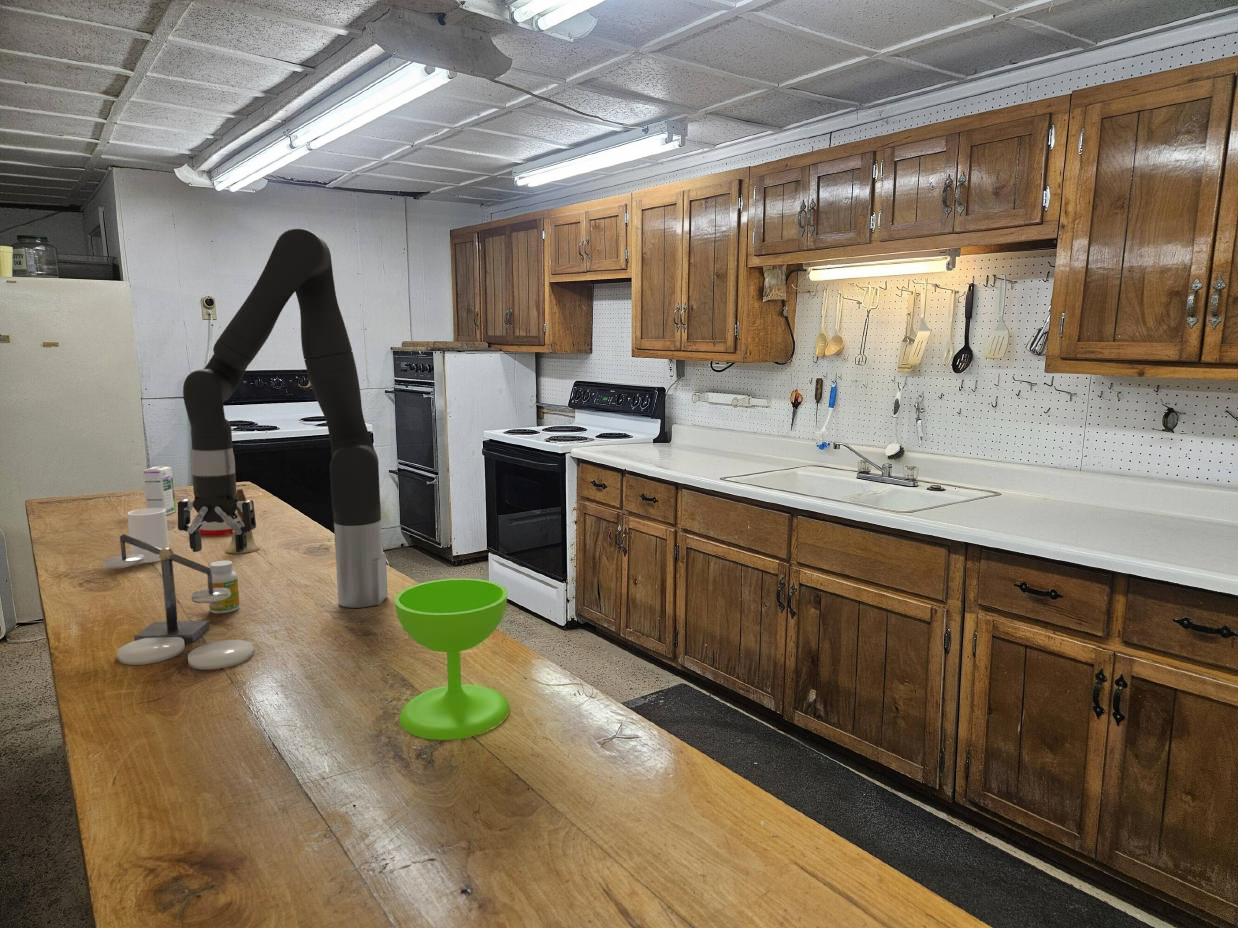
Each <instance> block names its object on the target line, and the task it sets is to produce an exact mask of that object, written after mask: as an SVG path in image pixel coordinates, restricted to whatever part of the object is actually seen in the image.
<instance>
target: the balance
mask: <svg viewBox="0 0 1238 928" xmlns="http://www.w3.org/2000/svg"><path fill="white" fill-rule="evenodd" d="M119 542H120V550H121V551H120V552H121V554H120V555H114V556H111V557H108V558H105V559H104V560H103V561H102V565H103V566H102V567H104V569H105V568H106V569H124V568H130V567H136V566H139V565H142V564H145V563H144V562H145V556H144V555H141V554H131V553H130V554H127V550H126V549H127V548H126V543H127V544H129V545H130V546H131V545H134V546H137V547H139V548H142V549H144V550H147V551H149V552H152V553H154V554H157V555H158V556H159V558H160V559H161V561H160V566H161V567H160V568H161V577H162V586H163V589H162V590H163V599H164V608H165V609H164V610H165V618H166V619H165V620H166V621H153V622H152V623H151V624H149V625H147V627H145V628H143V629H142V630H141V631H139V632H138V633H137V634H135V635H134V638H133V639H134V641H136V640H140V639H144V638H149V637H176V636H177V637H181V638H183V639H184V644H185V643H195V642H196V641H197V640H198V639H199V638H200V637H201V636H202V635H203V636H204V634H205V633H206V632H207V631H209V630H210V628H211V626H210V625H211V624H210V620H186V621H185V620H184V621H181V620H180V621H179V619H178V617H179V616H178V610H177V609H178V608H177V597H176V586H175V574H174V573H175V572H174V564H173V562H175V563H177V564H179V565H182V566H185V567H188V568H190V569H192V570H195V571H197V572H201V573H202V574H205V575H207V578H208V582H207V588H205V589H201V590H197V591H196V592H195V591H194V593H192V594H191V596H190V597H191V599H190V600H191V601H192V602H193V603H196V604H209V603H212V602H218V601H222V600H225V599H227V598H229V597H230V596H231V591H230V589H228V588H213V584H212V572H211V568H210V567H208V566H206V565H203V564H201V563H198V562H196V561H193V560H191V559H188V558H185V557H183V556H181V555H177V554H175V552H174V551H173V550H172V548H170V547H169V548H163V549H161V548H158V547H155V546H153V545H150V544H148V543H145V542H143V541H140V540H138V539H135V538H133V537H130V535H129V534H128V535H127V534H124V533H123V534H122V535H119ZM208 588H209V589H208Z"/></svg>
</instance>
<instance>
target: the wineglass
mask: <svg viewBox="0 0 1238 928" xmlns="http://www.w3.org/2000/svg"><path fill="white" fill-rule="evenodd" d="M508 593H509V591H508V590H507V589H506V587H505V586H503V585H502V584H500V583H498V582H494V581H491V580H485V579H478V578H462V577H461V578H444V579H435V580H431V581H425V582H422V583H418V584H414V585H410V586H409V587H407V588H405V589H402V590H401V591H399V592H398V593H397V594H396V595H395V597H394V598H393V602H394V607H395V611H396V618H397V619H398V621H399V624H400V626H401V627H402V629H403V631H404V632H405V633H406V634H407V635H408V636H409V637H410V638H411V639H412V640H413V641H415V643H417V644H419V645H421V647H422V646H423V647H425V648H427V649H429V650H431V651H434V652H439V653H446V665H447V685H443V686H440V687H436V688H431V689H428V690H426V691H424V692H422V693H419V694H417V695H416V696H415V697H413V698H412V699H410V700H409V701H408V702H407V703H406V704H405V705H404V706H403V707H402V709H401V711H400V714H399V717H398V719H399V720H398V721H399V724H400V726H401V728H402V729H403V730H404V731H405V732H407V733H409V734H411V735H413V736H415V737H418V738H422V739H426V740H434V741H453V740H452V739H457V740H463V739H467V738H466V737H469V738H471V737H470V736H473V735H476V734H479V733H483V732H486V731H487V730H489V729H490V728H492V727H494V726H497V725H498V724H499V723H500V722H501V721H503V720H504V719H505V717H506V716H507V714H508V713H509V714H510V712H509V707H510V706H511V705H510V704H509V702H507V701H508V700H507V698H506V697H505V696H504V695H503V694H502V693H501V692H499V691H497V690H495V689H493V688H490V687H487V686H483V685H479V684H469V683H467V684H466V683H465V684H462V674H461V673H462V668H461V667H462V666H461V664H462V663H461V652H463V651H467V650H470V649H473V648H474V647H476V646H478V645H480V644H481V643H483V642H485V640H487V639H488V638H489V637H490V636H491V635H492V634H493V633H494V632H495V630H496V629H497V628H498V627H499V625H500V624H501V623H502V619H503V617H504V614H505V612H506V608H507V601H508ZM510 708H511V707H510ZM486 733H487V732H486ZM483 734H484V733H483ZM473 737H474V736H473ZM435 739H436V740H435Z"/></svg>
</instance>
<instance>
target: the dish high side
mask: <svg viewBox="0 0 1238 928" xmlns="http://www.w3.org/2000/svg"><path fill="white" fill-rule="evenodd" d="M185 648H186V645H185V643H184V639H183V638H181V637H177V636H176V637H149V638H144V639H140V640H136V641H135V640H133V641H130V642H129V643H126V644H124V645H122V646H121V647H119V649H118V650H117V660H118V662H119V663H121V664H123V665H128V666H138V665H139V666H143V665H150V664H155V663H159V662H163V661H167V660H169V659H172V658H175V657H177V656H179V655H180V654H182V653H183V652H184V650H185Z"/></svg>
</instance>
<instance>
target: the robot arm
mask: <svg viewBox="0 0 1238 928" xmlns="http://www.w3.org/2000/svg"><path fill="white" fill-rule="evenodd" d="M294 293H295V295H296V299H297V302H298V303H297V304H298V307H299V313H300V337H301V338H300V341H301V352H302V356H303V360H304V365H305V368H306V372H307V376H308V377H307V378H308V380H309V383H310V386H311V388H312V392H313V394H314V396H315V399H316V401H317V402H318V406H319V408H320V410H321V411H322V414H323V416H324V419H325V422H326V426H327V430H328V436H329V442H330V448H331V460H330V463H329V480H330V494H331V495H330V496H331V497H330V498H331V509H332V513H333V528H334V533H333V534H334V549H335V566H336V567H335V568H336V581H337V582H336V585H337V598H338V600H337V601H338V605H339V606H341V607H343V608H351V609H353V608H354V609H356V608H359V609H360V608H367V607H373V606H380V605H382V603H383V602H384V601H385V600H386V598H387V597H388V595H389V593H388V575H387V573H388V571H387V555H386V552H383V536H382V535H383V533H382V532H383V531H382V510H381V507H382V506H381V493H380V491H381V490H380V489H381V488H380V467H379V464H380V463H379V458H378V457H379V456H378V455H377V452H376V450H375V447H374V445H373V442H372V440H371V437H370V434H369V430H368V428H367V425H366V421H365V416H364V413H363V406H362V405H363V404H362V395H361V389H360V381H359V376H358V375H359V374H358V370H357V365H356V362H355V357H354V352H353V349H352V345H351V341H350V338H349V334H348V331H347V327H346V325H345V322H344V318H343V315H342V312H341V310H340V307H339V302H338V298H337V292H336V286H335V279H334V271H333V263H332V256H331V251H330V248H329V246H328V244H327V243H326V241H325V240H324V239H323V238H322V237H320V236H319V235H317V233H314V232H312V230H308V229H306V228H301V227H300V228H298V227H295V228H290V229H288V230H286V231H284V232H283V233H281V234H280V235H279V237H278V239H277V240H276V242H275V244H274V246H273V248H272V251H271V253H270V255H269V257H268V260H267V262H266V264H265V265H264V269H263V270H262V272H261V274H260V275H259V278H258V280H257V282H256V284H255V285H254V286H253V288H252V290H251V291H250V293H249V294H248V296H247V297H246V299H245V300H244V302H243V303H242V305H241V306H240V308H239V309H238V311H237V312H236V313H235V315H234V316H233V317H232V318H231V320H230V322H229V323H228V324H227V326H226V327H225V329H224V330H223V331H222V333H221V334H220V336H219V337H218V338H217V340H216V342H215V344H214V345H213V348H212V349H213V350H212V351H213V354H212V356H211V358H210V360H209V361H208V362H207V364H206V366H205V367H204V368H203V369H197V370H194V371H192V372H191V373H189V374H188V375H187V376H186V378H185V380H184V383H183V389H182V396H183V402H184V407H185V410H186V413H187V419H188V422H189V425H190V427H191V428H190V429H191V431H190V434H191V448H192V450H191V473H192V476H191V477H192V487H193V488H192V489H193V491H192V492H193V496H194V500H192V499H189V498H183V499H182V500H179V501H178V502H177V529H178V531H180V532H181V531H183V532H186V533H188V537H189V548H190V549H191V550H192V552H193V553H198V552H200V551H202V549H203V547H202V546H203V545H202V535H201V532H199V529H200V528H201V527H202V525H203V524H204V523H205V522H207V523H211V522H218V523H223V522H226V524H227V525H228V526H230V527H231V528H232V529H233V530H234V531H235V532H236V535H235V541H236V552H237V553H241V552H243V551H244V549H245V548H246V547H247V535H246V533H247V532H249V531H251V530H252V531H253V530H254V529H256V528H257V522H256V513H255V511H256V510H255V503H254V501H253V499H247V500H246V501H239V502H238V500H237V498H236V493H237V480H236V479H237V477H236V461H235V460H236V459H235V454H234V450H233V432H232V427H231V422H230V421H229V420H228V419H227V418H226V415H225V407H224V403H225V402H226V401H228V400H229V399H230V398H231V396H233V394H235V391H236V390H237V388H238V387H239V384H240V382H241V380H242V379H243V377H244V374H245V372H246V370H247V368H248V366H249V365H250V364H251V363H252V361H254V359H255V358H256V356H257V355H258V353H259V352H260V351H261V349H262V348H263V346H264V345H265V343H266V342H267V340H268V338H269V336H270V335H271V333H272V332H273V329H274V327H275V325H276V323H277V320H278V319H279V317H280V315H281V313H282V312H283V309H284V308H285V306H286V304H287V303H288V301H290V299H291V297H292V296H293V294H294ZM238 507H239V508H240V511H241V512H243V519H244V523H243V522H242V521H241V518H240V517H239V515H238V514H237V513H236V512H235V511H236V510H237V508H238ZM193 509H194V510H195V511H196V513H197V515H195V517H194V519H193V520H192V522H191V511H192V510H193ZM241 554H242V553H241Z"/></svg>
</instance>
